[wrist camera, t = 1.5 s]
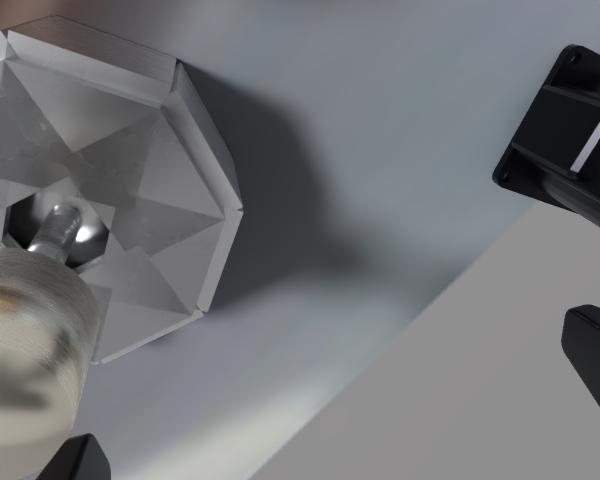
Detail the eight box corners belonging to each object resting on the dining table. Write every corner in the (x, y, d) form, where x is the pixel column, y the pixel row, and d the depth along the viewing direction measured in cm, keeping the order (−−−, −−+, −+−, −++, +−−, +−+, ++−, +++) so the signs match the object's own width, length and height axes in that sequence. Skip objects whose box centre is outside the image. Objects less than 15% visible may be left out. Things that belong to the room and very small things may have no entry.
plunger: (216, 138, 16) (237, 287, 8) (158, 322, 19) (135, 556, 11) (-56, 53, 13) (-376, 158, 6) (-73, 281, 16) (-300, 546, 9)
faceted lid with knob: (257, 87, 19) (279, 126, 14) (173, 337, 24) (169, 429, 19) (-51, -24, 16) (-160, -22, 11) (-75, 295, 20) (-157, 395, 16)
